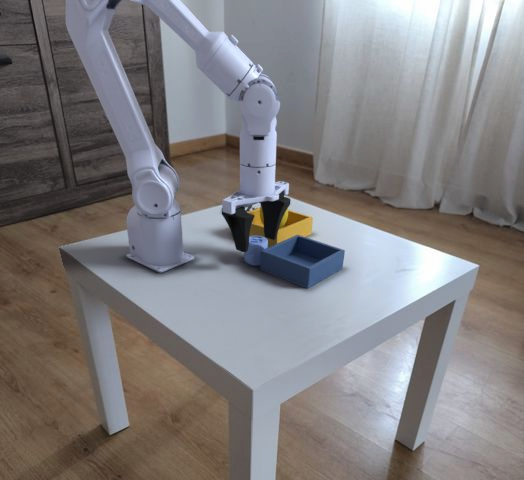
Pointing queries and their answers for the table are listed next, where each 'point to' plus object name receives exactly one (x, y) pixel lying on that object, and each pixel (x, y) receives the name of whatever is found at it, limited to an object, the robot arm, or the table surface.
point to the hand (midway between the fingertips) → (256, 244)
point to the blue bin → (302, 260)
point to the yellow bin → (292, 227)
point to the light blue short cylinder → (255, 250)
